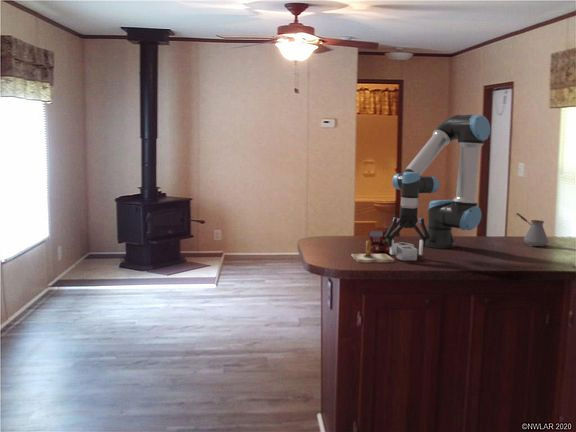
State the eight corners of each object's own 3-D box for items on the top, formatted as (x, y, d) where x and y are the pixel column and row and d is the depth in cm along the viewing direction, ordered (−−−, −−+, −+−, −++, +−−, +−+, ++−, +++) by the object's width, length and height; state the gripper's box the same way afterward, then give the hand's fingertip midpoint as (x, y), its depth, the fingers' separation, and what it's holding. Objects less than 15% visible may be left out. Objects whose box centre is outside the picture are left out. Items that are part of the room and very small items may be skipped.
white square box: (411, 256, 270) (411, 246, 269) (416, 260, 263) (417, 249, 262) (396, 257, 268) (396, 246, 268) (401, 260, 262) (402, 249, 261)
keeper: (385, 256, 269) (386, 238, 268) (394, 262, 258) (395, 243, 257) (351, 256, 267) (351, 238, 266) (358, 262, 255) (358, 243, 254)
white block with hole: (401, 252, 279) (402, 242, 278) (413, 255, 273) (413, 244, 273) (391, 254, 274) (392, 243, 274) (403, 256, 269) (403, 246, 268)
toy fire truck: (395, 253, 277) (396, 231, 276) (369, 253, 276) (370, 231, 274) (391, 250, 284) (392, 228, 283) (365, 250, 283) (366, 228, 281)
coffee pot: (552, 247, 302) (555, 218, 299) (534, 248, 298) (537, 218, 295) (522, 239, 321) (524, 212, 319) (505, 240, 317) (507, 212, 315)
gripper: (432, 206, 268) (429, 252, 271) (379, 205, 264) (376, 252, 267) (439, 208, 261) (435, 256, 263) (384, 207, 257) (381, 255, 260)
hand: (405, 254), depth 265 cm, fingers open, 13 cm apart
